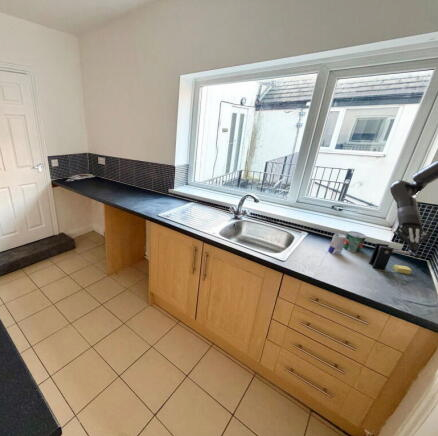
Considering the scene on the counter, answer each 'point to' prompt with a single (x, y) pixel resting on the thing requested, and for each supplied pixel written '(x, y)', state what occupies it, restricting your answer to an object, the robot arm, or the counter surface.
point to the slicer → (380, 257)
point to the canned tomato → (354, 241)
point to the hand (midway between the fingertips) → (414, 251)
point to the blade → (404, 252)
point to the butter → (402, 269)
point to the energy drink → (337, 244)
